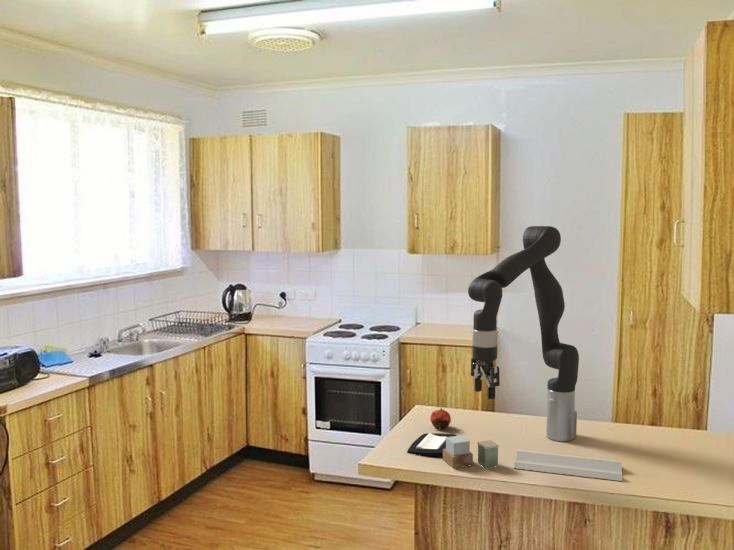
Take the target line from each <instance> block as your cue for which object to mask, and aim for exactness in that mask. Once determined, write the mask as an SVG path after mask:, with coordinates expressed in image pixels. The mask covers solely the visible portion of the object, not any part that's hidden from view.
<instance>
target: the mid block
mask: <svg viewBox="0 0 734 550" xmlns="http://www.w3.org/2000/svg"><path fill="white" fill-rule="evenodd" d="M470 446H471V445H470V440H469V439H467V437H465V436H463V435H461V434H460V435H457V436H453V437H446V450H447V451H448V452H450V453H451V454H452V455H453V456H455V455H462V454H469V453H470V452H471V451H470V450H471V449H470Z"/></svg>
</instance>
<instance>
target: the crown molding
mask: <svg viewBox="0 0 734 550" xmlns="http://www.w3.org/2000/svg"><path fill="white" fill-rule="evenodd" d="M515 457H516V458H515V461H514V465H513V469H514V468H516V469H515V470H523V469H524V471H531V470H532V471H533V472H541V473H549V474H550V473H551V474H557V475H558V474H559V475H567V476H576V477H582V478H590V479H591V478H592V479H599V480H609V481H618V482H623V474H622V473H623V469H622V468H623V467H622V466H623V465H622V464H623V462H622V460H616V459H615V460H613V459H607V458H605V459H604V458H596V457H587V456H577V455H571V454H569V455H568V454H559V453H550V452H540V451H531V450H522V449H516V455H515Z"/></svg>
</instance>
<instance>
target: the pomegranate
mask: <svg viewBox="0 0 734 550" xmlns="http://www.w3.org/2000/svg"><path fill="white" fill-rule="evenodd" d="M429 420H430V422H431V424H432V426H433V427H435V428H437V429H438V431H441V428H440V427H443V428H442V429H445V428H448V427H449V426H450V424H451V420H452V417H451V414H450V413H449V412H448V411H447V410H445V409H442V407H441V408H439V409H436V410H434V411H432V413H431V414H430V419H429ZM438 427H439V428H438Z"/></svg>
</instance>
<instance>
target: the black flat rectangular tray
mask: <svg viewBox="0 0 734 550" xmlns="http://www.w3.org/2000/svg"><path fill="white" fill-rule="evenodd" d="M453 436H458V435H457V434H453V433H439V432H437V433H434V432H433V433H430V432H429V433H423V434H421V435H419V437H418V438H416V439H415V440H414V441H413V443H411V444H410V446H409V447H408V449H407V451H406V453H407V454H411V455H414V454H415V455H414V456H419V455H420V457H443V449H446V437H453Z"/></svg>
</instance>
